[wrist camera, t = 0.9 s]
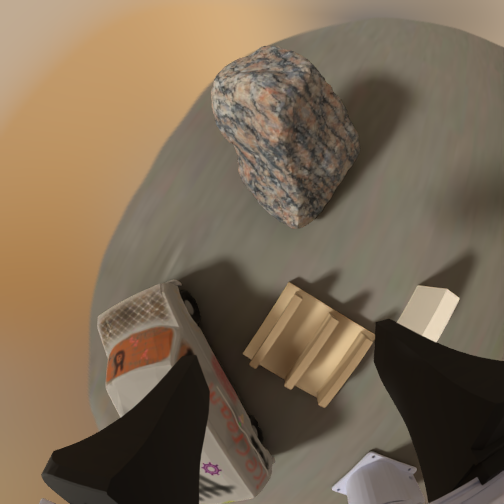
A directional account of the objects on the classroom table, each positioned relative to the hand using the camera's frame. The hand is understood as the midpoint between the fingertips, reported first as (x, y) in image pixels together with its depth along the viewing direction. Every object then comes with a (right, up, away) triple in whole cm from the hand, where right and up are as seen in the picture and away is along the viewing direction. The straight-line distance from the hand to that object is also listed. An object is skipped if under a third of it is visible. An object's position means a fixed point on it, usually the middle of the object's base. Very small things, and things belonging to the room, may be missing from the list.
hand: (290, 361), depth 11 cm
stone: (+3, +13, +20) cm, 24 cm away
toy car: (-8, -12, +20) cm, 25 cm away
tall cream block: (+16, -3, +17) cm, 23 cm away
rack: (+5, -5, +18) cm, 20 cm away
